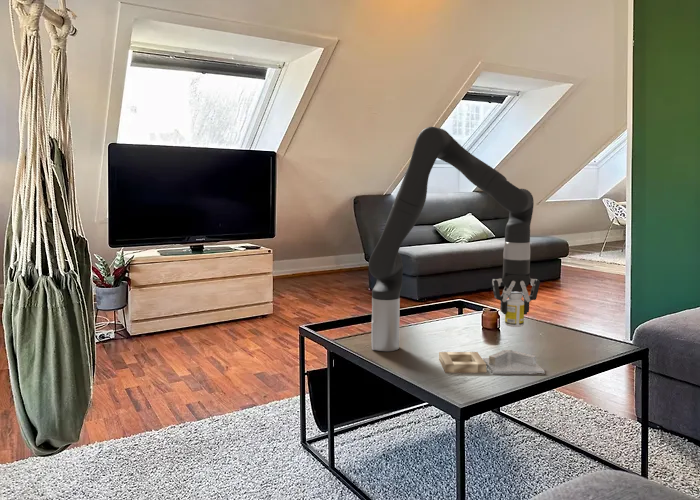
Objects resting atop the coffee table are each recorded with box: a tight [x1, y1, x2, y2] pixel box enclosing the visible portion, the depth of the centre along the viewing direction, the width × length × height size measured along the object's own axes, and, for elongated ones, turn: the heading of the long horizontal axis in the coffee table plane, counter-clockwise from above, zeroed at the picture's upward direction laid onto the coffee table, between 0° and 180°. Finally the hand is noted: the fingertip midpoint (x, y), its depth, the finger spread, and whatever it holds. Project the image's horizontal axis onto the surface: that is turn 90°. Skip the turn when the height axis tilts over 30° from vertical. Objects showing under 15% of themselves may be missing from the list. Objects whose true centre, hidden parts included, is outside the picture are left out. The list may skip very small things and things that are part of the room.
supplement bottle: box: [504, 291, 525, 328], centre depth 168 cm, size 5×5×10 cm
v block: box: [482, 349, 545, 375], centre depth 170 cm, size 15×12×4 cm
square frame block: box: [438, 351, 487, 374], centre depth 172 cm, size 12×12×2 cm
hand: (514, 313), depth 168 cm, fingers closed on supplement bottle, 5 cm apart
